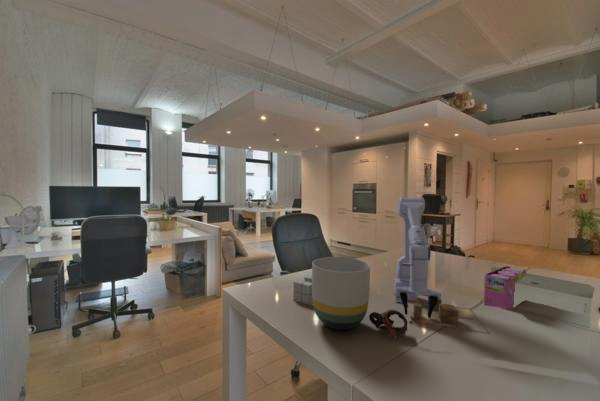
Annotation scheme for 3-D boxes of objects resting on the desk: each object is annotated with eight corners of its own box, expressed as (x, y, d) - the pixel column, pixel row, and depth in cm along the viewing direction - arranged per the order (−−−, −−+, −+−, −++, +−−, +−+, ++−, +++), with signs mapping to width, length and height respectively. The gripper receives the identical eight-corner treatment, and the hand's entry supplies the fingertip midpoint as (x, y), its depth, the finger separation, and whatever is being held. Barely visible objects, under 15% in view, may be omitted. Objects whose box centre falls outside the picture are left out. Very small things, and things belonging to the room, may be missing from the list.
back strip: (435, 315, 101) (435, 301, 101) (431, 307, 108) (432, 294, 108) (476, 321, 97) (477, 306, 97) (470, 312, 104) (470, 298, 104)
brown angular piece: (415, 324, 94) (415, 308, 94) (412, 314, 102) (413, 300, 101) (458, 330, 90) (459, 314, 90) (453, 320, 98) (453, 305, 97)
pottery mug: (400, 326, 95) (409, 311, 90) (401, 351, 87) (411, 336, 82) (366, 314, 96) (373, 299, 92) (364, 338, 88) (372, 323, 84)
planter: (331, 346, 81) (333, 275, 80) (301, 318, 98) (302, 260, 97) (381, 332, 90) (382, 267, 89) (345, 308, 107) (346, 254, 106)
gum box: (505, 294, 125) (507, 265, 125) (527, 300, 119) (528, 269, 118) (483, 306, 112) (484, 273, 111) (506, 313, 105) (507, 279, 105)
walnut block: (441, 323, 93) (441, 309, 93) (438, 317, 98) (438, 303, 98) (457, 325, 92) (458, 311, 91) (454, 319, 96) (454, 305, 96)
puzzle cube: (317, 307, 108) (317, 288, 108) (293, 300, 115) (293, 281, 115) (331, 298, 118) (332, 280, 118) (308, 292, 125) (309, 274, 124)
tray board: (431, 329, 91) (431, 325, 91) (422, 306, 110) (422, 302, 110) (489, 338, 87) (490, 333, 87) (470, 312, 105) (470, 308, 105)
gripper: (397, 278, 95) (396, 317, 96) (443, 283, 91) (442, 323, 92) (396, 273, 102) (395, 308, 102) (439, 277, 98) (438, 314, 98)
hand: (417, 315), depth 97 cm, fingers open, 7 cm apart
